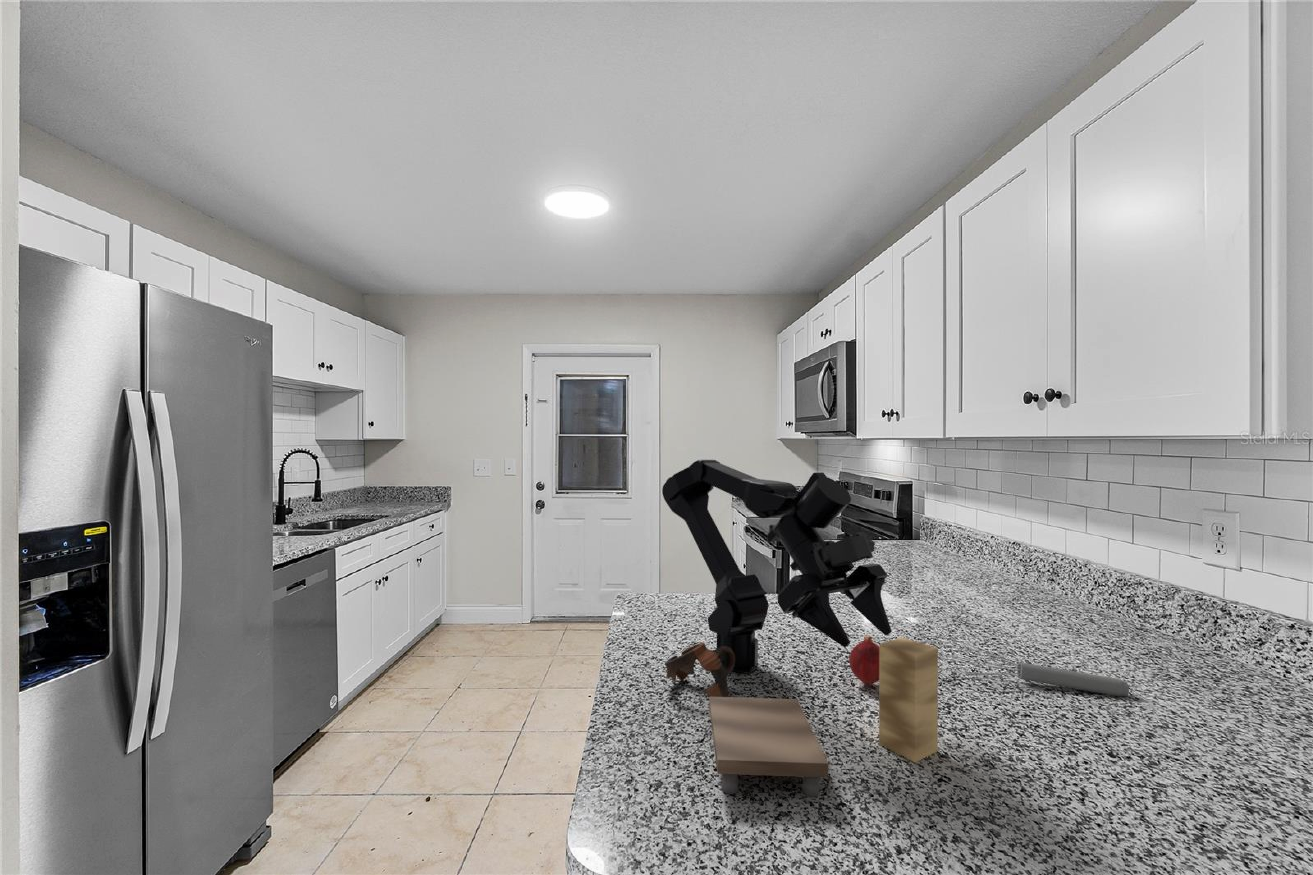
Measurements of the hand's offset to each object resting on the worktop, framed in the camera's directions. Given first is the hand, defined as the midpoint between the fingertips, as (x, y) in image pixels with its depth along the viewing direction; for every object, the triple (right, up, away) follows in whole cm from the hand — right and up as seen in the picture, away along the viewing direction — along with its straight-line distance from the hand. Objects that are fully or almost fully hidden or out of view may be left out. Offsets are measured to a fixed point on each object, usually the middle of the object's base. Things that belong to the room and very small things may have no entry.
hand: (869, 639), depth 78 cm
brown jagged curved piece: (-22, -13, +12) cm, 28 cm away
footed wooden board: (-16, -12, -8) cm, 22 cm away
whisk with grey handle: (+31, -14, +17) cm, 38 cm away
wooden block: (+3, -12, -5) cm, 14 cm away
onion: (+5, -13, +14) cm, 20 cm away
